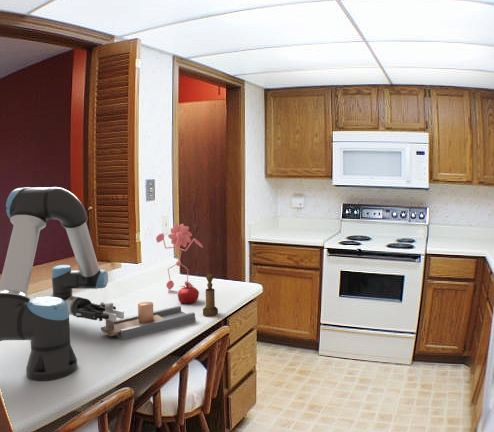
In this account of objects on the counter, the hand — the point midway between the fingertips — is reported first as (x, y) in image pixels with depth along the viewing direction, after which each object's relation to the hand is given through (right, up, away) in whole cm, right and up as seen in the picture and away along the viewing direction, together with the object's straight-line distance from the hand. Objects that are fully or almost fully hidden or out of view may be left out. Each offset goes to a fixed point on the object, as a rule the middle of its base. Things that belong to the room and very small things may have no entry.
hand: (119, 316), depth 176 cm
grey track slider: (+3, -6, +10) cm, 12 cm away
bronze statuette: (+32, -5, +28) cm, 43 cm away
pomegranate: (+20, -3, +47) cm, 51 cm away
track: (+10, -7, +15) cm, 19 cm away
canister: (+7, -4, +13) cm, 15 cm away
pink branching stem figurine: (+14, -1, +67) cm, 69 cm away
